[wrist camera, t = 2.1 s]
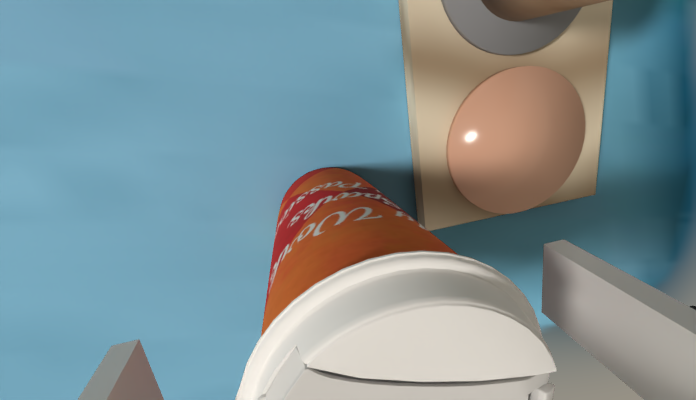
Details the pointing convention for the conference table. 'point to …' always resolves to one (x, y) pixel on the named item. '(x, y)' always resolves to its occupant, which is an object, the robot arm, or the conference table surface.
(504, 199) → the terracotta pad
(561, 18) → the grey pad
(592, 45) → the board
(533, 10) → the brown short cylinder
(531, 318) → the paper cup
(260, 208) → the conference table surface
